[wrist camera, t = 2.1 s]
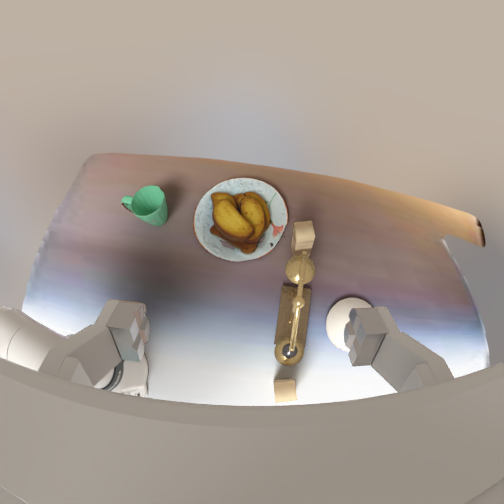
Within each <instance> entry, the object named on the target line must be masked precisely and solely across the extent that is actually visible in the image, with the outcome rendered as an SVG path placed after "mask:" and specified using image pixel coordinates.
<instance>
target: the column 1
mask: <svg viewBox="0 0 504 504" xmlns="http://www.w3.org/2000/svg"><path fill="white" fill-rule="evenodd" d="M273 381H274V391H275V401H276V403H278V402H287V401H295V400H297V396H296V386H295V380H293V379H291V378H289V379H281V380H273Z"/></svg>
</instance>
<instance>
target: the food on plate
mask: <svg viewBox="0 0 504 504" xmlns="http://www.w3.org/2000/svg"><path fill="white" fill-rule="evenodd" d="M287 224H288V210H287V207H286V203H285V201H284V199H283V198H282V196H281V195H280V193H279V192H278V191H277V190H276V189H275V188H274V187H272V186H271V185H269V184H267V183H266V182H264V181H259V180H257V179H254V178H244V177H243V178H232V179H229V180H226V181H222V182H221V183H220V184H217V185H215V186H214V187H213V189H210V190H209V191H208V192H207V193H206V194H205V195H204V196H203V198H202V199H201V200H200V202H199V204H198V205H197V207H196V209H195V213H194V224H193V228H194V233H195V235H196V238H197V239H198V241H199V243H200V244H201V246H202V247H203V248H205V249H206V250H207V251H208V252H210V254H213V255H215V256H216V257H218V258H220V259H221V258H223V259H226V260H228V261H229V262H230V261H232V262H236V261H239V262H243V261H244V260H251V259H253V260H254V259H255V258H261V257H262V256H263V255H266V254H267V253H269V252H271V251H272V250H273V249H274V246H275V245H276V244H277V242H278V241H279V240H280V237H281V235H282V233H283V231H284V228H285V225H287ZM264 233H266V234H265V240H264V241H263V242H262V243H258V244H257V242H258V240H259V239H260V238H261V237H263V236H264ZM284 237H285V236H284ZM219 239H220V240H222V241H225V242H228V243H230V245H232V246H233V247H234V249H230V248H228V247H227V248H225V247H223V246H222V243H221V242H220V241H219ZM270 243H273V244H274V245H273V247H271V244H270Z"/></svg>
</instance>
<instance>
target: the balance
mask: <svg viewBox="0 0 504 504" xmlns="http://www.w3.org/2000/svg"><path fill="white" fill-rule="evenodd" d="M285 272H286V276H287V278H288V279H289V280H290V281H291V282H292V283H294V284H297V285H298V287H290V286H282V291H281V299H280V306H279V314H278V321H277V328H276V335H275V342H274V344H277V345H276V347H275V357H276V359H277V360H278V362H280V363H281V364H283V365H286V366H292V365H295V364H297V363H298V362H299V361H300V360H301V359H302V357H303V355H304V347H305V341H306V333H307V324H308V316H309V306H310V296H311V289H307V288H303V285H304V284H307V283H308V282H310V281H311V280H312V279H313V277H314V274H315V266H314V263H313V262H312V261H311V260H310V259H309V258H308V257H307V252H306V251H303V252H302V255H301V256H295V257H292V258H291V259H290V260H289V261H288V262H287V264H286V269H285Z"/></svg>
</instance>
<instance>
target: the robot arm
mask: <svg viewBox="0 0 504 504" xmlns="http://www.w3.org/2000/svg"><path fill="white" fill-rule="evenodd" d="M146 311H147V310H146V306H145V304H144V303H141V302H132V301H123V300H121V301H120V300H113V299H110V300H108V301H107V303H106V305H105V306H104V308H103V310H102V311H101V313H100V315H99V317H98V319H97V320H96V322H95V324H94V325H89V326H88V327H86V328H85V329H83V330H81V331H80V332H78V333H76V334H71V335H67V336H63V335H61V334H59V333H57V332H55V331H53V330H51V329H49V328H47V327H46V326H44V325H42V324H40V323H38V322H37V321H35V320H34V319H32V318H31V317H29V316H28V315H26V314H25V313H23V312H22V311H19V310H17V309H13V308H10V307H6V306H0V504H504V361H503V362H501V363H498V364H496V365H494V366H491V367H488V368H485V369H483V370H480V371H477V372H474V373H471V374H468V375H465V376H461V377H458V378H455V379H454V377H453V375H452V373H451V371H450V369H449V368H448V366H447V364H446V362H445V360H444V359H443V358H442V357H440V356H439V355H437V354H436V353H434V352H433V351H431V350H430V349H428V348H427V347H425V346H424V345H422V344H421V343H419V342H418V341H416V340H415V339H413V338H412V337H410V336H409V335H407V334H406V333H404V332H400V330H399V329H398V327H397V325H396V323H395V321H394V320H393V318H392V316H391V314H390V313H389V311H388V309H387V308H386V307H385V306H384V307H374V308H352V309H351V311H350V313H349V319H350V321H349V322H348V323H346V325H345V328H344V342H345V346H346V347H347V348H349V349H350V351H349V354H348V355H349V357H350V360H351V363H352V366H365V365H371V366H372V367H373V368H374V369H375V370H376V371H377V372H378V373H379V374H380V375H381V376H382V377H383V378H384V379H385V380H386V381H387V382H388V383H389V384H390V385H391V386H392V387H393V388H394V389H395V390H396V391H397V392H398V393H393V394H388V395H383V396H377V397H371V398H364V399H357V400H349V401H341V402H332V403H321V404H308V405H290V406H226V405H208V404H195V403H185V402H175V401H167V400H159V399H152V398H146V396H147V394H148V391H147V385H146V382H147V377H148V364H147V360H146V357H145V355H144V351H145V348H144V344H145V343H146V342H148V339H149V335H150V323H149V319H148V318H147V317H146V316H145V314H146ZM138 393H139V394H140V396H139V395H138Z"/></svg>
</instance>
